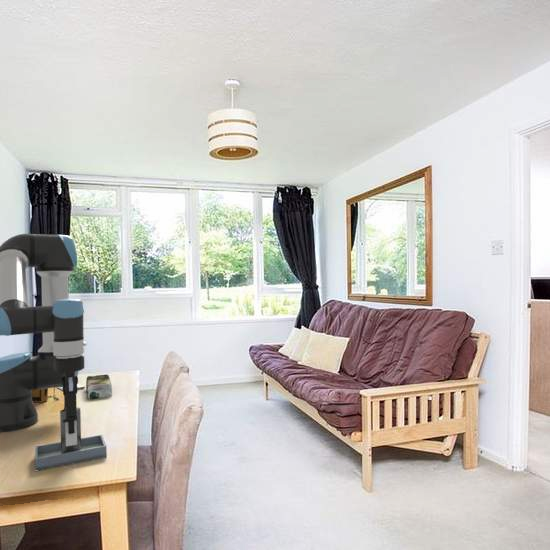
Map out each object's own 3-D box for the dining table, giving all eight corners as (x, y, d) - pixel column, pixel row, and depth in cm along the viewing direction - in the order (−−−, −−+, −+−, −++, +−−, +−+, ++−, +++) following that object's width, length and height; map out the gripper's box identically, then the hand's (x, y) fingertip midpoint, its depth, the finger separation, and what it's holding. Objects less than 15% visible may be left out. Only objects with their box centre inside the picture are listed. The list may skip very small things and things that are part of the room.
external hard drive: (65, 393, 189) (56, 388, 198) (85, 390, 195) (75, 385, 204) (65, 390, 189) (56, 385, 198) (85, 386, 195) (75, 381, 204)
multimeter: (67, 396, 182) (66, 348, 183) (52, 403, 173) (51, 352, 173) (34, 396, 184) (33, 348, 184) (17, 402, 174) (16, 352, 174)
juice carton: (113, 396, 180) (113, 382, 181) (87, 400, 176) (87, 385, 176) (109, 387, 199) (108, 373, 199) (85, 390, 194) (85, 376, 194)
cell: (60, 453, 120) (59, 405, 120) (80, 449, 122) (79, 402, 122) (61, 459, 115) (60, 410, 115) (82, 455, 118) (81, 407, 118)
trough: (35, 457, 119) (35, 446, 119) (102, 444, 127) (102, 434, 127) (35, 471, 110) (34, 459, 110) (106, 457, 118) (106, 445, 118)
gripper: (86, 359, 113) (88, 449, 112) (81, 350, 129) (83, 429, 128) (54, 362, 109) (56, 456, 109) (53, 352, 125) (54, 434, 125)
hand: (70, 441), depth 119 cm, fingers closed on cell, 5 cm apart
